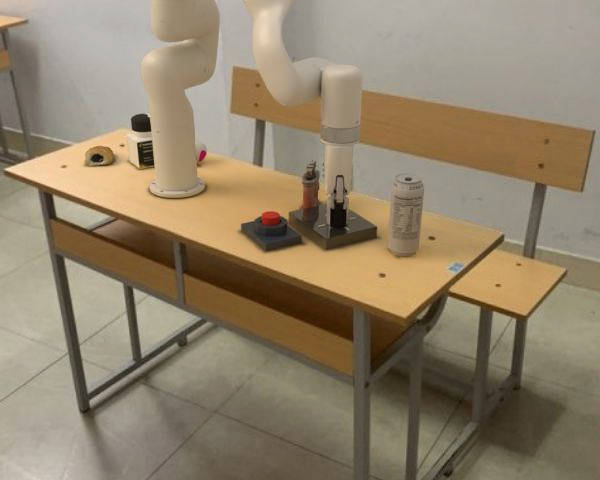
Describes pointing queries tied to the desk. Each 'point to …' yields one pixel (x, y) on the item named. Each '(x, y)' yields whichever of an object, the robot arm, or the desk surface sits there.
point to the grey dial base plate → (331, 237)
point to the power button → (270, 218)
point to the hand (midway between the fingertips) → (337, 220)
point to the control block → (271, 234)
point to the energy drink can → (405, 214)
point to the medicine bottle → (141, 142)
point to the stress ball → (200, 151)
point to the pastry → (99, 156)
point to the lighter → (310, 186)
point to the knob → (329, 205)
